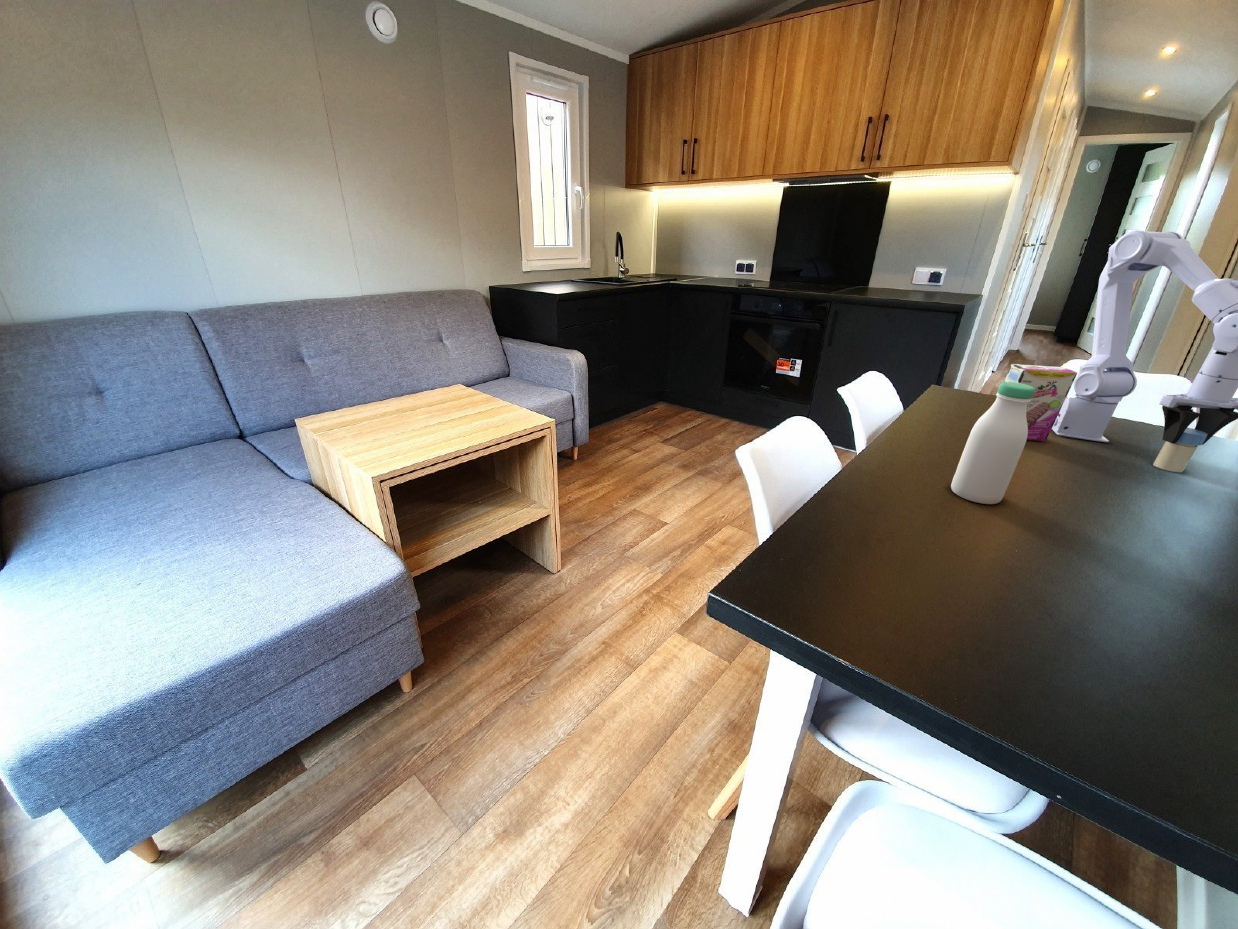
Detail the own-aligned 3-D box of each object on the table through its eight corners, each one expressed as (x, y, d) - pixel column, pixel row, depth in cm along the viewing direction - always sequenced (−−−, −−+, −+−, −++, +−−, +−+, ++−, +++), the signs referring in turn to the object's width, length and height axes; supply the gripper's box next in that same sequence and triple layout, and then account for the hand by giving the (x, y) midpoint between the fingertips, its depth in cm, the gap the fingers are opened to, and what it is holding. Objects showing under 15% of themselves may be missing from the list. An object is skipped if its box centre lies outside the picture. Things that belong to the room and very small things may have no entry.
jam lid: (1207, 444, 96) (1213, 434, 95) (1192, 446, 95) (1198, 436, 94) (1174, 435, 101) (1180, 425, 100) (1159, 437, 99) (1165, 427, 98)
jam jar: (1159, 469, 99) (1178, 435, 96) (1148, 461, 103) (1166, 428, 100) (1187, 474, 98) (1208, 439, 94) (1176, 465, 101) (1195, 432, 98)
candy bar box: (996, 439, 112) (1023, 368, 105) (983, 431, 116) (1009, 363, 109) (1048, 442, 111) (1079, 371, 104) (1033, 434, 115) (1062, 366, 108)
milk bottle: (1010, 508, 83) (1059, 394, 74) (960, 502, 84) (1003, 389, 75) (988, 487, 89) (1031, 380, 81) (942, 482, 91) (980, 376, 82)
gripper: (1202, 379, 89) (1164, 448, 94) (1285, 383, 88) (1241, 452, 94) (1165, 369, 95) (1131, 434, 101) (1242, 373, 95) (1204, 438, 100)
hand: (1182, 442), depth 98 cm, fingers closed on jam lid, 5 cm apart
